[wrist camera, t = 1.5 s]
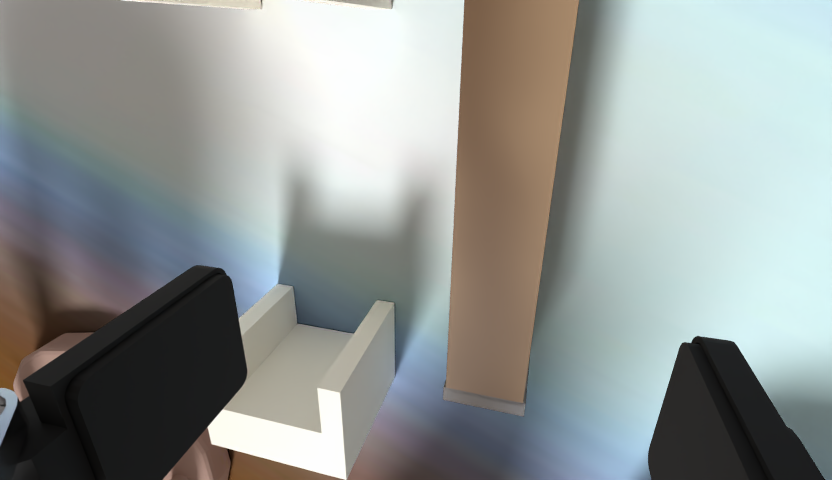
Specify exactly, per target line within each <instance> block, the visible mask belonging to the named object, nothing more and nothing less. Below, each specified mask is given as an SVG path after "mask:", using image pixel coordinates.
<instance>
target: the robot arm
mask: <svg viewBox="0 0 832 480" xmlns="http://www.w3.org/2000/svg"><path fill="white" fill-rule="evenodd" d="M246 377H247V364H246V359H245V353H244V347H243V342H242V336H241V330H240V325H239V319H238V313H237V307H236V302H235V296H234V290H233V285H232V281H231V279H230V277H229V276H227V275H226V273H225V271H224V270H223V269H221V268H215V267H208V266H201V265H196V266H194V267H192V268H190V269H189V270H187V271H186V272H184V273H183V274H181V275H180V276H178V277H177V278H175V279H174V280H172V281H171V282H169V283H168V284H166V285H165V286H163V287H162V288H160V289H159V290H157V291H156V292H154V293H153V294H151V295H150V296H148V297H147V298H145V299H144V300H142V301H141V302H139V303H138V304H136V305H135V306H133V307H132V308H130V309H129V310H127V311H126V312H124V313H123V314H121V315H120V316H118V317H117V318H115V319H114V320H112V321H111V322H109V323H108V324H106V325H105V326H103V327H102V328H100V329H99V330H97V331H96V332H94V333H93V334H91V335H90V336H88V337H87V338H85V339H84V340H82V341H81V342H79V343H78V344H76V345H75V346H73V347H72V348H70V349H69V350H67V351H66V352H64V353H63V354H61V355H60V356H58V357H57V358H55V359H54V360H52V361H51V362H49V363H48V364H46V365H45V366H43V367H42V368H40V369H39V370H37V371H36V372H34V373H33V374H31V375H30V376H28V377H27V378H25V379H24V380H23V382H24V384H25V387H26V389H27V391H28V394H29V396H28V397H27V398H25V399H24V400H23V401H21V402H20V401H19V399H18V397H17V395H16V394H15V393H14V391H11V390H8V389H5V388H0V480H163V479H164V478H165V476H166V475H167V474H168V473H169V472H170V471H171V469H172V468H173V467H174V466H175V465H176V463H177V462H178V461H179V460H180V459H181V458H182V456H183V455H184V454H185V453H186V452H187V451H188V449H189V448H190V447H191V446H192V445H193V444H194V442H195V441H196V440H197V439H198V438H199V437H200V435H201V434H202V433H203V432H204V431H205V430H206V428H207V427H208V426H209V425H210V424H211V422H212V421H213V420H214V419H215V418H216V417H217V415H218V414H219V413H220V412H221V411H222V410H223V408H224V407H225V406H226V405H227V404H228V403H229V401H230V400H231V399H232V398H233V397H234V396H235V394H236V393H237V392H238V391H239V390H240V388H241V387H242V386H243V385H244V383H245V381H246ZM648 465H649V471H650V475H651V479H652V480H825V479H824V478H823V476H822V474H821V473H820V471H819V470H818V468H817V466H816V465H815V463H814V462H813V460H812V458H811V457H810V455H809V454H808V452H807V450H806V449H805V447H804V446H803V444H802V442H801V441H800V439H799V438H798V436H797V435H796V434H795V433H794V432H793V430H791V429H790V428H788V427H786V425H785V423H784V422H783V420H782V418H781V417H780V415H779V414H778V412H777V410H776V409H775V407H774V405H773V404H772V402H771V400H770V399H769V397H768V396H767V394H766V392H765V391H764V389H763V387H762V386H761V384H760V383H759V381H758V379H757V378H756V376H755V374H754V373H753V371H752V369H751V368H750V366H749V365H748V363H747V361H746V360H745V358H744V356H743V355H742V353H741V352H740V350H739V348H738V347H737V345H736V344H735V343H734V342H732V341H728V340H721V339H714V338H707V337H700V336H697V337H695V338H694V339H693V340H692V342H691V343H686V342H684V343H682V344H681V346H680V348H679V351H678V355H677V358H676V361H675V364H674V368H673V371H672V374H671V378H670V381H669V384H668V388H667V391H666V394H665V398H664V401H663V404H662V407H661V411H660V414H659V417H658V421H657V424H656V427H655V431H654V434H653V437H652V441H651V444H650V447H649V453H648Z"/></svg>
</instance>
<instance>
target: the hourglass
mask: <svg viewBox="0 0 832 480" xmlns="http://www.w3.org/2000/svg"><path fill="white" fill-rule="evenodd" d="M93 333H94V332H90V333H65V334H62V335H60V336H59V337H57V338H56V339H54V340H52V341H51V342H49V343H47V344H46V345H44V346H42V347H41V348H39V349H38V350H36V351H34V352H33V353H31V354H30V355H28V356H26V357H25V358H24V359H22V360H21V363H20V366H19V369H18V372H17V375H16V377H15V380H14V383H13V386H14V393H15V394H16V395H17V397H18V399H19V401H20V402H21V401H23V400H24V399H25V398H27V397H28V396H29V394H28V391H27V389H26V387H25V384H24V382H23V380H24V379H25V378H27V377H28V376H30V375H31V374H33V373H34V372H36V371H37V370H39V369H40V368H42V367H43V366H45V365H46V364H48V363H49V362H51V361H52V360H54V359H55V358H57V357H58V356H60V355H61V354H63V353H64V352H66V351H67V350H69V349H70V348H72V347H73V346H75V345H76V344H78V343H79V342H81V341H82V340H84V339H85V338H87V337H88V336H90V335H91V334H93ZM230 465H231V462H230V458H229V454H228V451H227V448H224V447H221V446H217V445H213V444H211V440H210V435H209V431H208V427H207V428H206V430H205V431H204V432H203V433H202V434H201V435H200V437H199V438H198V439H197V440H196V441H195V442H194V444H193V445H192V446H191V447H190V448H189V449H188V451H187V452H186V453H185V454H184V455H183V456H182V458H181V459H180V460H179V461H178V462H177V463H176V465H175V466H174V467H173V468H172V469H171V471H170V472H169V473H168V474H167V475H166V476H165V478H164V479H163V480H228V476H229V470H230Z"/></svg>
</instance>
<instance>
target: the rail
mask: <svg viewBox="0 0 832 480" xmlns="http://www.w3.org/2000/svg"><path fill="white" fill-rule="evenodd" d="M578 5H579V0H465V1H464V22H463V43H462V64H461V84H460V105H459V126H458V146H457V167H456V188H455V208H454V229H453V250H452V271H451V291H450V312H449V333H448V353H447V374H446V381H445V384H444V388H443V400H447V401H452V402H456V403H461V404H466V405H471V406H475V407H480V408H485V409H490V410H494V411H499V412H504V413H509V414H514V415H518V416H523V417H524V411H525V404H526V392H527V381H528V370H529V358H530V349H531V342H532V335H533V328H534V321H535V313H536V306H537V299H538V292H539V285H540V277H541V270H542V263H543V256H544V249H545V242H546V234H547V227H548V220H549V213H550V206H551V199H552V191H553V184H554V177H555V170H556V163H557V155H558V148H559V141H560V134H561V127H562V120H563V112H564V105H565V98H566V91H567V84H568V76H569V69H570V62H571V55H572V48H573V41H574V33H575V26H576V19H577V12H578Z"/></svg>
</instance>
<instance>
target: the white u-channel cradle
mask: <svg viewBox="0 0 832 480" xmlns="http://www.w3.org/2000/svg"><path fill="white" fill-rule="evenodd" d="M123 1H137V2H151V3H164V4H178V5H192V6H205V7H219V8H233V9H262V7H261V0H123ZM297 1H305V2H313V3H321V4H330V5H338V6H346V7H354V8H362V9H392V0H297ZM239 325H240V330H241V336H242V342H243V347H244V353H245V359H246V364H247V377H246V381H245V383H244V385H243V386H242V387H241V388H240V390H239V391H238V392H237V393H236V394H235V396H234V397H233V398H232V399H231V400H230V401H229V403H228V404H227V405H226V406H225V407H224V408H223V410H222V411H221V412H220V413H219V414H218V415H217V417H216V418H215V419H214V420H213V421H212V422H211V424H210V425H209V426H208V431H209V435H210V440H211V444H213V445H217V446H221V447H224V448H228V449H232V450H236V451H239V452H243V453H247V454H251V455H254V456H258V457H262V458H266V459H270V460H273V461H277V462H281V463H285V464H288V465H292V466H296V467H300V468H303V469H307V470H311V471H315V472H318V473H322V474H326V475H330V476H334V477H337V478H341V479H345V480H347V478H348V476H349V473H350V471H351V469H352V467H353V465H354V463H355V461H356V459H357V457H358V454H359V452H360V450H361V448H362V446H363V444H364V442H365V440H366V437H367V435H368V433H369V431H370V429H371V427H372V425H373V423H374V421H375V418H376V416H377V414H378V412H379V410H380V408H381V406H382V404H383V401H384V399H385V397H386V395H387V393H388V391H389V389H390V387H391V385H392V382H393V380H394V378H395V308H394V303H393V302H387V301H380V300H376V302H375V303H374V305H373V306H372V308H371V309H370V311H369V312H368V314H367V315H366V317H365V318H364V320H363V321H362V322H361V324H360V325H359V327H358V328H357V330H356V331H355V333H354V334H352V333H347V332H341V331H336V330H330V329H325V328H319V327H314V326H308V325H303V324H298V323H297V315H296V306H295V298H294V289H293V286H288V285H281V284H277V285H276V286H274V287H273V288H272V289H271V290H270V291H269V292H268V293H267V294H266V295H264V296H263V297H262V298H261V299H260V300H259V301H258V302H257V303H256V304H254V305H253V306H252V307H251V308H250V309H249V310H248V311H247V312H246V313H244V314H243V315H242V316H241V317H240V318H239Z"/></svg>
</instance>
